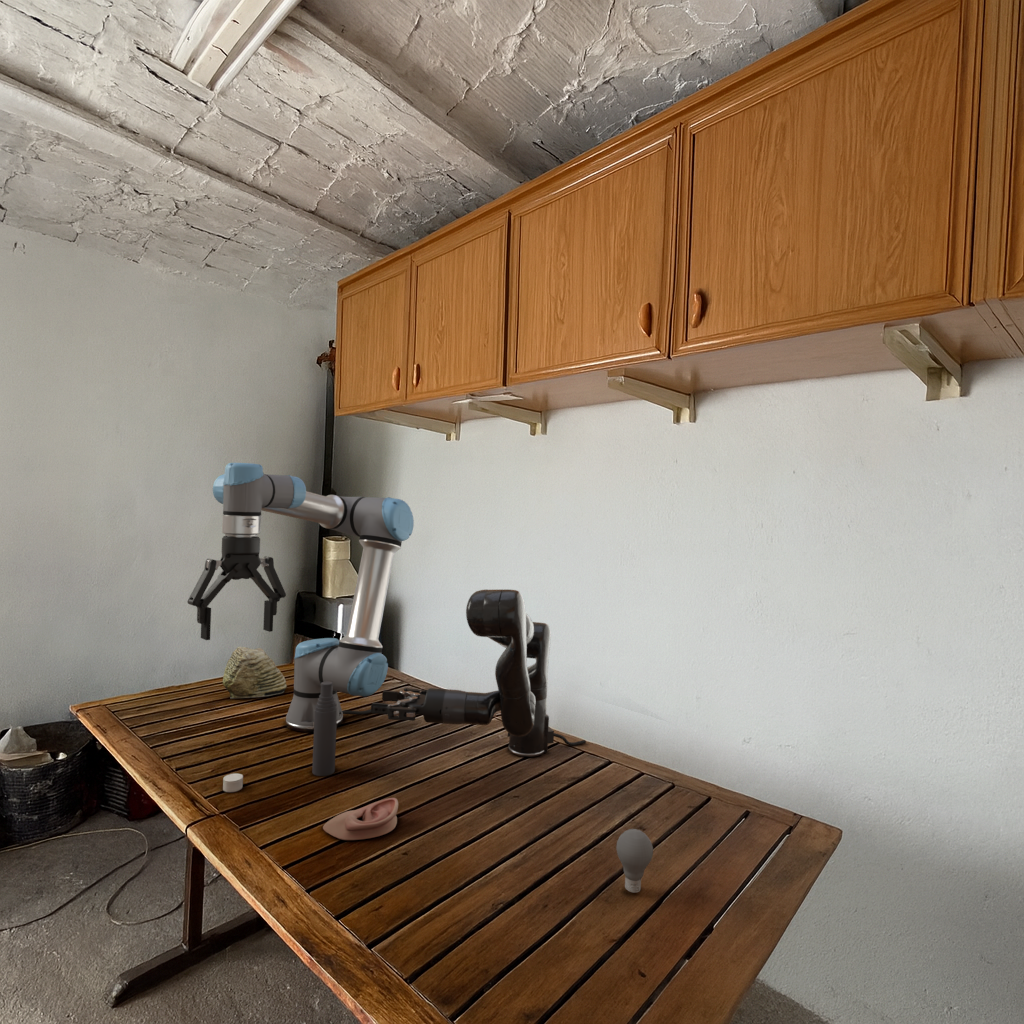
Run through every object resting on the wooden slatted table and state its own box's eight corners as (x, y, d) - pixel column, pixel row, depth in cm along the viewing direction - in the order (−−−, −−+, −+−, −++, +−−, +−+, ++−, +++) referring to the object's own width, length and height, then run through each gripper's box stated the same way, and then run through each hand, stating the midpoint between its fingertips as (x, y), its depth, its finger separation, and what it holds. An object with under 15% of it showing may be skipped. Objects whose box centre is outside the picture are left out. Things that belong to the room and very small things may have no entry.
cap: (242, 791, 135) (242, 780, 135) (222, 793, 133) (222, 782, 133) (243, 783, 138) (243, 772, 138) (223, 785, 137) (224, 774, 137)
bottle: (323, 778, 143) (326, 687, 142) (307, 772, 145) (310, 683, 145) (339, 770, 147) (342, 682, 146) (323, 765, 149) (327, 678, 149)
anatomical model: (315, 814, 118) (343, 787, 129) (314, 835, 118) (343, 807, 129) (382, 825, 115) (405, 796, 127) (381, 846, 116) (404, 816, 127)
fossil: (218, 695, 195) (220, 647, 195) (278, 685, 208) (279, 640, 207) (228, 703, 189) (230, 653, 188) (289, 692, 201) (290, 645, 201)
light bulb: (610, 879, 108) (613, 822, 108) (644, 879, 109) (647, 822, 109) (619, 902, 102) (622, 840, 102) (655, 901, 103) (658, 840, 103)
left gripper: (187, 537, 123) (183, 646, 123) (303, 535, 142) (300, 630, 142) (172, 534, 128) (168, 639, 128) (286, 533, 147) (283, 624, 147)
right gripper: (453, 680, 150) (386, 676, 152) (441, 700, 136) (367, 695, 138) (452, 711, 151) (385, 707, 152) (440, 734, 137) (366, 729, 138)
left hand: (237, 634), depth 135 cm, fingers open, 13 cm apart
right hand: (377, 701), depth 145 cm, fingers open, 8 cm apart
